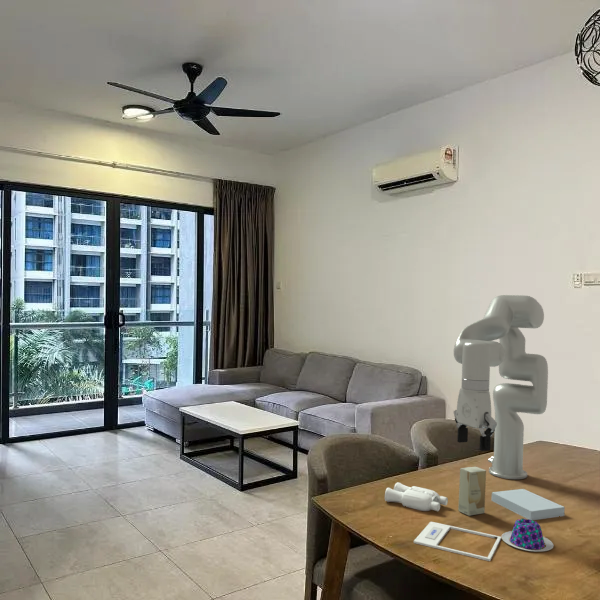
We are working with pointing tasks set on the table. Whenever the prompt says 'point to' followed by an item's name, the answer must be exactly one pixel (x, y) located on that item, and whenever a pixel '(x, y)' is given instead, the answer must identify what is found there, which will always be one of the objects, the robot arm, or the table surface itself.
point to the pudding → (527, 536)
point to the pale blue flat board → (528, 504)
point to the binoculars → (415, 497)
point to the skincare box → (472, 490)
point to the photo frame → (438, 531)
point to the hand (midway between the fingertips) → (473, 446)
